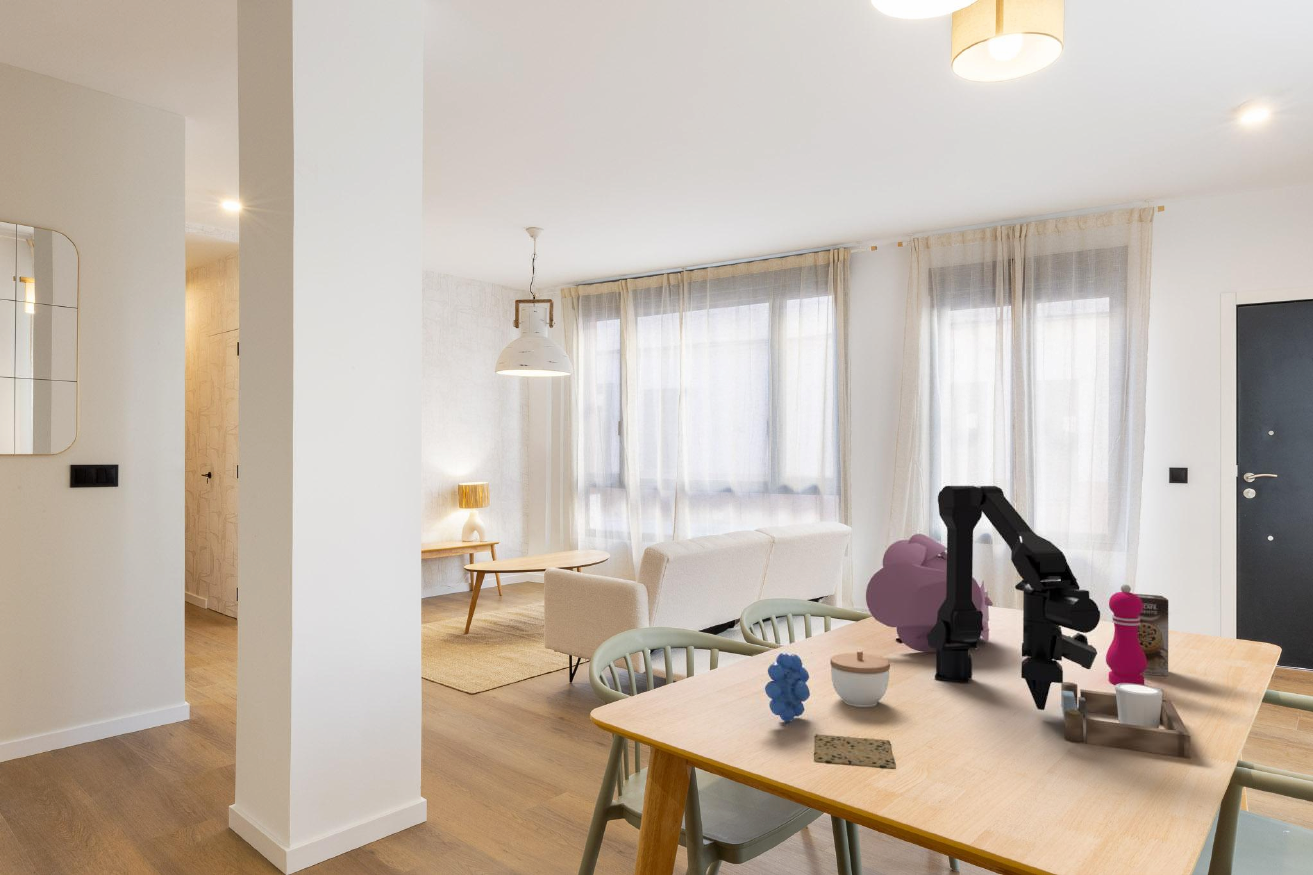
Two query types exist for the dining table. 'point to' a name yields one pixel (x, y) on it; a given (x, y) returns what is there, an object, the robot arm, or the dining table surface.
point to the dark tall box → (1154, 633)
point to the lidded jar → (860, 678)
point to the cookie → (853, 751)
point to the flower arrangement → (916, 590)
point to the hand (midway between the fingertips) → (1040, 709)
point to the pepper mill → (1126, 639)
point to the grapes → (787, 686)
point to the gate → (1068, 701)
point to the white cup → (1138, 704)
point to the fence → (1124, 726)
